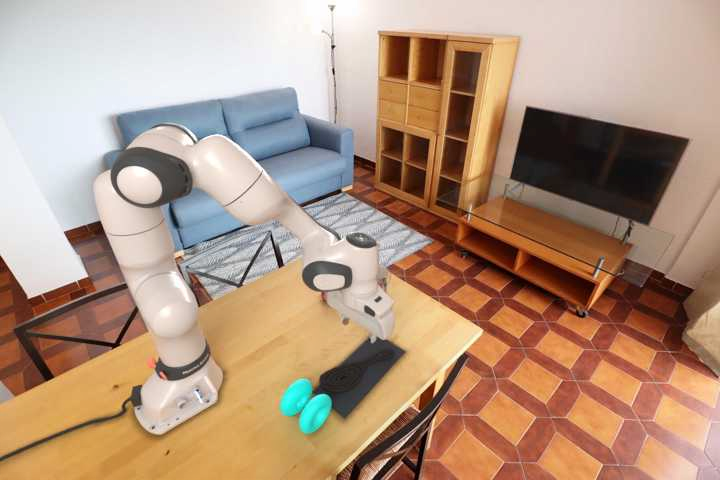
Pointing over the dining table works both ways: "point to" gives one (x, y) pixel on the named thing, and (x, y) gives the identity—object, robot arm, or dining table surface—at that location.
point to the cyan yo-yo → (305, 405)
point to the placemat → (370, 378)
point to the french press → (382, 275)
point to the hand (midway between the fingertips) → (358, 331)
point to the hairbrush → (350, 373)
